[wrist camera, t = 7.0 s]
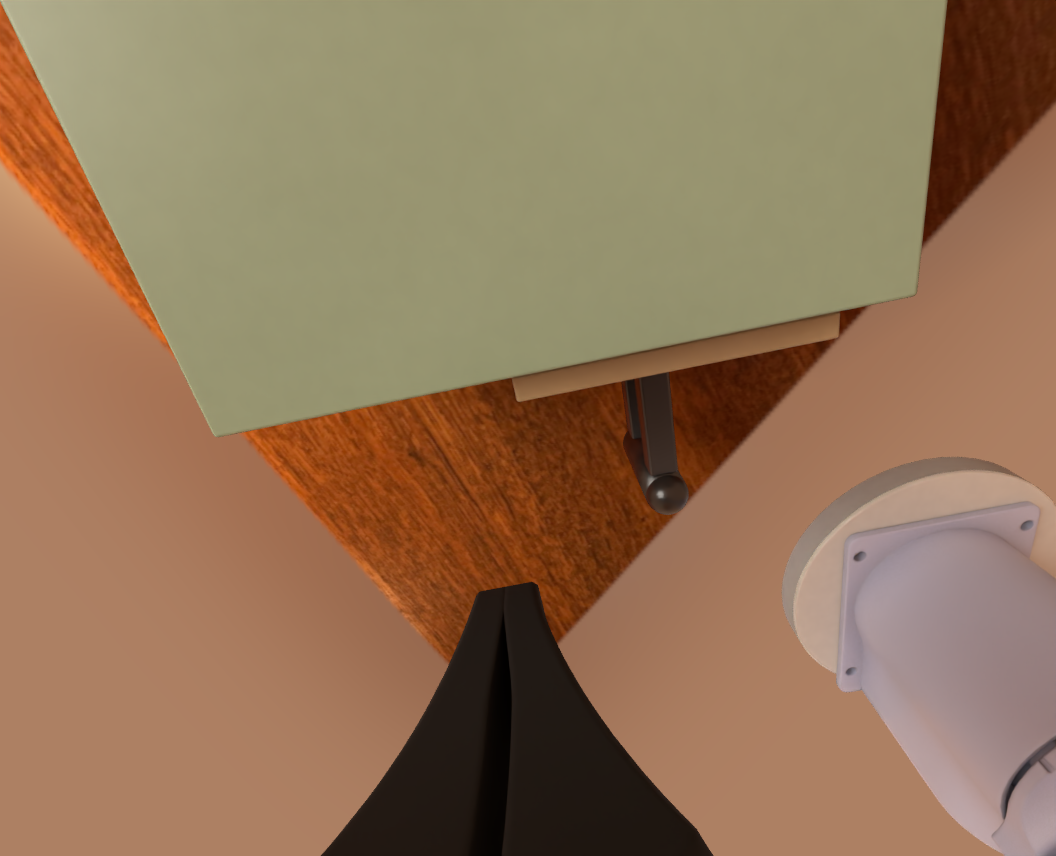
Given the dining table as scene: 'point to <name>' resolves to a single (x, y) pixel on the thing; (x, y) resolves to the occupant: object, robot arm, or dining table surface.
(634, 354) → the sliding door
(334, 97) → the cupboard
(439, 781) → the robot arm
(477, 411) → the dining table surface
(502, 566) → the dining table surface
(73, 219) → the dining table surface
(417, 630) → the dining table surface
